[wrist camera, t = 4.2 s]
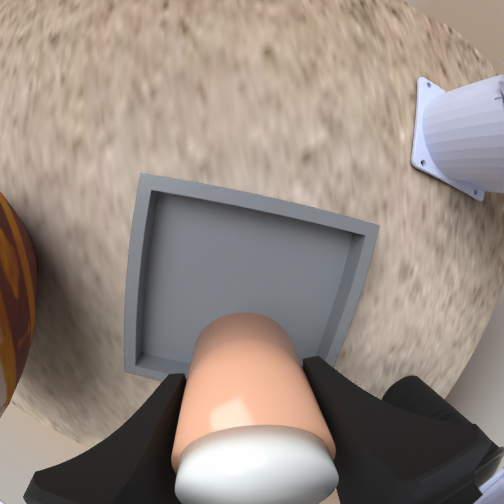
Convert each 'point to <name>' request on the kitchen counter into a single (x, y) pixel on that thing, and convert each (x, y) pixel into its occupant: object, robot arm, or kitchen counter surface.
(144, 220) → the tray
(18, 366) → the jug
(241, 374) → the shaker
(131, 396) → the kitchen counter surface
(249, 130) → the kitchen counter surface
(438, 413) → the drinking cup
